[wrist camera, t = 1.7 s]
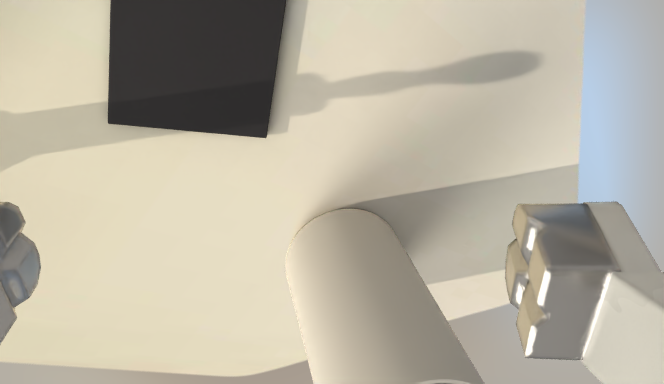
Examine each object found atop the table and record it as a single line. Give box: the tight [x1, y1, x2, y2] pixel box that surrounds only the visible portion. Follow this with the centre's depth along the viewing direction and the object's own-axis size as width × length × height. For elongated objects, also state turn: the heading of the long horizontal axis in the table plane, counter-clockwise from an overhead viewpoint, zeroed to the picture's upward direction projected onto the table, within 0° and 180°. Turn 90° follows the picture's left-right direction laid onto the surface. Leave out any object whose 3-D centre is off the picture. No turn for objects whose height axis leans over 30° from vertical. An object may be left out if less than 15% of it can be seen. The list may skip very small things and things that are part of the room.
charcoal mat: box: [108, 0, 286, 138], centre depth 50 cm, size 20×14×1 cm
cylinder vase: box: [285, 209, 484, 384], centre depth 54 cm, size 12×12×25 cm
